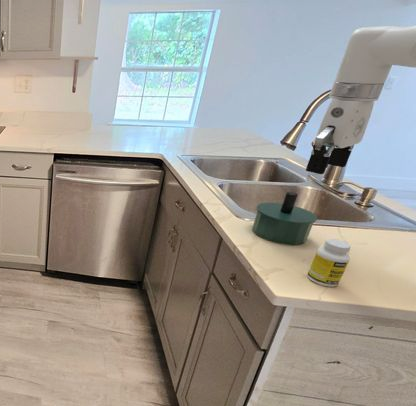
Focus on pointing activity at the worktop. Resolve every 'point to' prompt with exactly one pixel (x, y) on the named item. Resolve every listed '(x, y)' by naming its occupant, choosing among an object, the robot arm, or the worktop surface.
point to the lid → (287, 211)
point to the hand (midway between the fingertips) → (325, 168)
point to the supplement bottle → (329, 263)
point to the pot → (281, 230)
